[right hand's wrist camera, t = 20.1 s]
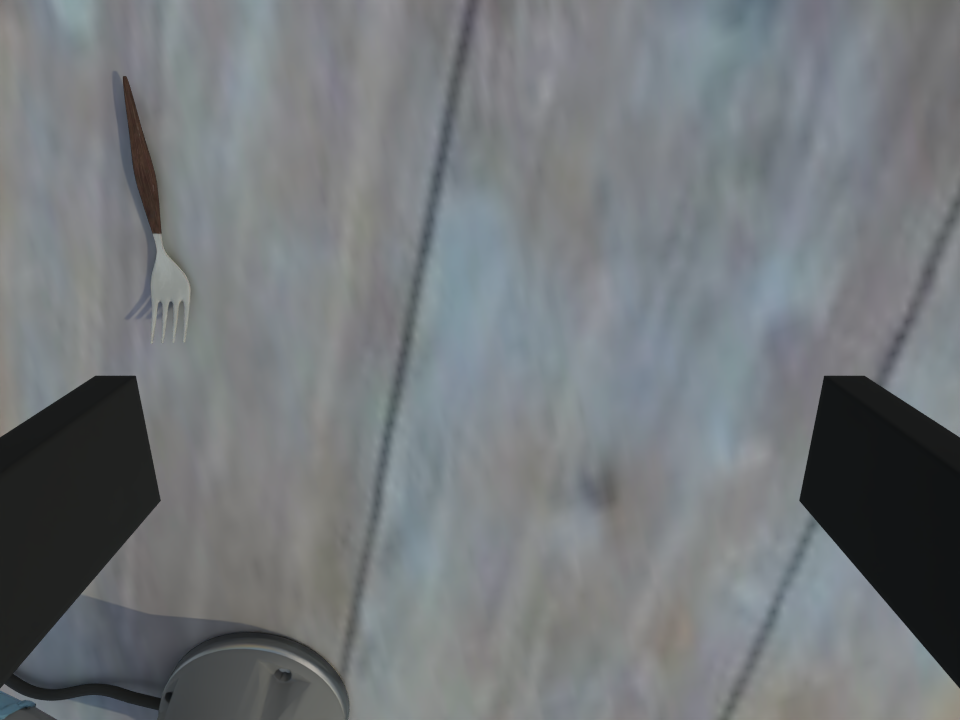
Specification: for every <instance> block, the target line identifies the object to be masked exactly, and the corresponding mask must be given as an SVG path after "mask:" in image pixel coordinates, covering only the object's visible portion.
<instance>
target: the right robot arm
mask: <svg viewBox="0 0 960 720" xmlns="http://www.w3.org/2000/svg"><path fill="white" fill-rule="evenodd" d="M160 501H161V500H160V495H159V490H158V485H157V480H156V475H155V470H154V465H153V460H152V455H151V450H150V445H149V440H148V435H147V430H146V425H145V420H144V415H143V410H142V405H141V400H140V395H139V390H138V385H137V380H136V376H95V377H93V378H91V379H90V380H88V381H87V382H85V383H84V384H82V385H81V386H79V387H77V388H76V389H74V390H73V391H71V392H70V393H68V394H67V395H65V396H64V397H62V398H60V399H59V400H57V401H56V402H54V403H53V404H51V405H50V406H48V407H47V408H45V409H43V410H42V411H40V412H39V413H37V414H36V415H34V416H33V417H31V418H30V419H28V420H26V421H25V422H23V423H22V424H20V425H19V426H17V427H16V428H14V429H13V430H11V431H9V432H8V433H6V434H5V435H3V436H2V437H0V688H1V687H2V686H3V684H6V685H7V686H8V687H10V688H11V689H13V690H15V691H16V692H18V693H20V694H22V695H25V696H27V697H30V698H34V699H39V700H49V701H55V700H64V699H70V698H74V697H79V696H85V695H103V696H108V697H112V698H115V699H118V700H121V701H124V702H127V703H131V704H135V705H139V706H143V707H147V708H152V709H156V710H159V714H158V719H157V720H348V717H349V698H348V694H347V691H346V688H345V686H344V684H343V682H342V680H341V678H340V677H339V675H338V674H337V672H336V671H335V670H334V669H333V667H332V666H331V665H330V664H329V663H328V662H327V661H326V660H324V659H323V658H322V657H321V656H320V655H318V654H317V653H315V652H314V651H312V650H311V649H309V648H307V647H305V646H303V645H301V644H299V643H297V642H295V641H292V640H289V639H286V638H283V637H280V636H275V635H271V634H264V633H233V634H228V635H223V636H219V637H216V638H213V639H210V640H208V641H206V642H204V643H201V644H200V645H198V646H197V647H195V648H193V649H192V650H191V651H190V652H188V653H187V654H186V655H185V656H184V657H183V658H182V660H181V661H180V662H179V663H178V665H177V667H176V668H175V670H174V672H173V673H172V675H171V677H170V679H169V681H168V682H167V684H166V686H165V688H164V691H163V694H162V697H161V698H157V697H153V696H149V695H144V694H140V693H136V692H133V691H129V690H126V689H123V688H120V687H117V686H113V685H107V684H85V685H79V686H74V687H69V688H64V689H44V688H40V687H36V686H33V685H31V684H29V683H27V682H25V681H23V680H22V679H20V678H18V677H17V676H15V675H14V674H13V673H14V672H15V670H16V669H17V668H18V667H19V666H20V665H21V663H22V662H23V661H24V660H25V659H26V658H27V656H28V655H29V654H30V653H31V652H32V651H33V649H34V648H35V647H36V646H37V645H38V644H39V642H40V641H41V640H42V639H43V638H44V637H45V635H46V634H47V633H48V632H49V631H50V630H51V628H52V627H53V626H54V625H55V624H56V622H57V621H58V620H59V619H60V618H61V617H62V615H63V614H64V613H65V612H66V611H67V610H68V608H69V607H70V606H71V605H72V604H73V603H74V601H75V600H76V599H77V598H78V597H79V596H80V594H81V593H82V592H83V591H84V590H85V589H86V587H87V586H88V585H89V584H90V583H91V582H92V580H93V579H94V578H95V577H96V576H97V575H98V573H99V572H100V571H101V570H102V569H103V568H104V566H105V565H106V564H107V563H108V562H109V560H110V559H111V558H112V557H113V556H114V555H115V553H116V552H117V551H118V550H119V549H120V548H121V546H122V545H123V544H124V543H125V542H126V541H127V539H128V538H129V537H130V536H131V535H132V534H133V532H134V531H135V530H136V529H137V528H138V527H139V525H140V524H141V523H142V522H143V521H144V520H145V518H146V517H147V516H148V515H149V514H150V513H151V511H152V510H153V509H154V508H155V507H156V506H157V504H158V503H159V502H160ZM799 501H800V502H801V503H802V504H803V506H804V507H805V508H806V509H807V510H808V511H809V513H810V514H811V515H812V516H813V517H814V518H815V520H816V521H817V522H818V523H819V524H820V525H821V527H822V528H823V529H824V530H825V531H826V532H827V534H828V535H829V536H830V537H831V538H832V539H833V541H834V542H835V543H836V544H837V545H838V546H839V548H840V549H841V550H842V551H843V552H844V553H845V555H846V556H847V557H848V558H849V559H850V560H851V562H852V563H853V564H854V565H855V566H856V568H857V569H858V570H859V571H860V572H861V573H862V575H863V576H864V577H865V578H866V579H867V580H868V582H869V583H870V584H871V585H872V586H873V587H874V589H875V590H876V591H877V592H878V593H879V594H880V596H881V597H882V598H883V599H884V600H885V601H886V603H887V604H888V605H889V606H890V607H891V608H892V610H893V611H894V612H895V613H896V614H897V615H898V617H899V618H900V619H901V620H902V621H903V622H904V624H905V625H906V626H907V627H908V628H909V630H910V631H911V632H912V633H913V634H914V635H915V637H916V638H917V639H918V640H919V641H920V642H921V644H922V645H923V646H924V647H925V648H926V649H927V651H928V652H929V653H930V654H931V655H932V656H933V658H934V659H935V660H936V661H937V662H938V663H939V665H940V666H941V667H942V668H943V669H944V670H945V672H946V673H947V674H948V675H949V676H950V677H951V679H952V680H953V681H954V682H955V683H956V684H957V686H958V687H959V688H960V437H958V436H957V435H955V434H954V433H952V432H951V431H949V430H947V429H946V428H944V427H943V426H941V425H940V424H938V423H937V422H935V421H934V420H932V419H930V418H929V417H927V416H926V415H924V414H923V413H921V412H920V411H918V410H917V409H915V408H913V407H912V406H910V405H909V404H907V403H906V402H904V401H903V400H901V399H900V398H898V397H896V396H895V395H893V394H892V393H890V392H889V391H887V390H886V389H884V388H882V387H881V386H879V385H878V384H876V383H875V382H873V381H872V380H870V379H869V378H867V377H865V376H824V380H823V385H822V390H821V395H820V400H819V405H818V410H817V415H816V420H815V425H814V430H813V435H812V440H811V445H810V450H809V455H808V460H807V465H806V470H805V475H804V480H803V485H802V490H801V495H800V500H799ZM0 720H57V719H55V718H53V717H51V716H50V715H48V714H46V713H44V712H43V711H41V710H39V709H37V708H36V704H35V703H34V702H32V701H28V700H24V701H20V700H18V699H16V698H14V697H12V696H10V695H8V694H6V693H4V692H2V691H0Z"/></svg>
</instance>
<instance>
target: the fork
mask: <svg viewBox="0 0 960 720" xmlns="http://www.w3.org/2000/svg"><path fill="white" fill-rule="evenodd" d="M123 86H124V96H125V104H126V111H127V119H128V126H129V134H130V144H131V153H132V161H133V168H134V174H135V179H136V183H137V186H138V190H139V193H140V196H141V199H142V203H143V206H144V209H145V212H146V215H147V218H148V221H149V224H150V227H151V230H152V233H153V236H154V240H155V243H156V248H157V256H156V261H155V264H154V268H153V271H152V276H151V300H152V326H151V342H150V343H151V344H153V338H154V331H155V324H156V316H157V308H158V303H159V302H161V303H162V309H163V314H162V343H163V342H164V336H165V329H166V322H167V314H168V306H169V302H170V301H172V303H173V340H172V342H173V343H174V341H175V334H176V327H177V320H178V311H179V304H180V302H181V301H183V303H184V337H183V343H185V340H186V333H187V325H188V317H189V307H190V294H191V289H190V283H189V281H188V278H187V276H186V275H185V273H184V272H183V271H182V270H181V269H180V267H179V266H178V265H177V264H176V263H175V262H174V261H173V260H172V259H171V258H170V257H169V256H168V254H167V253H166V251H165V249H164V246H163V242H162V233H161V221H160V209H159V197H158V188H157V181H156V176H155V172H154V168H153V164H152V161H151V157H150V154H149V151H148V148H147V145H146V141H145V138H144V135H143V131H142V128H141V124H140V121H139V117H138V113H137V110H136V106H135V102H134V99H133V95H132V92H131V88H130V85H129V82H128V79H127V77H126V76H123Z"/></svg>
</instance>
